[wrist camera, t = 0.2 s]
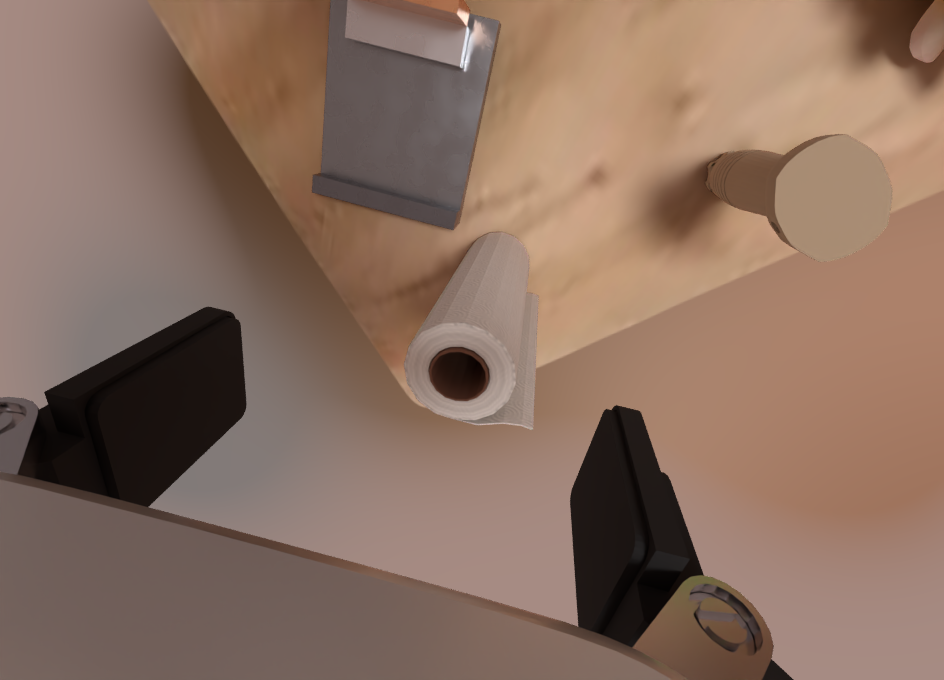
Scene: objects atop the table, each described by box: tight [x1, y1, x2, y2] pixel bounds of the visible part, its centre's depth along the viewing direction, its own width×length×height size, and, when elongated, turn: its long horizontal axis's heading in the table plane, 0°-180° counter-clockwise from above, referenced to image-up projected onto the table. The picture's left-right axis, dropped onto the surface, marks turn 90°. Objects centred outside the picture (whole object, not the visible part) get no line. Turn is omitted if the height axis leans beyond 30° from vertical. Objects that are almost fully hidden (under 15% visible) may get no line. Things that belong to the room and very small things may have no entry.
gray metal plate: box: [312, 0, 501, 230], centre depth 36 cm, size 16×13×3 cm
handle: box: [705, 134, 892, 262], centre depth 29 cm, size 5×6×15 cm
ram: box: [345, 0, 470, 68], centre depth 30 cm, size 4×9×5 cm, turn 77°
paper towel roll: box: [404, 232, 539, 430], centre depth 32 cm, size 7×6×21 cm
